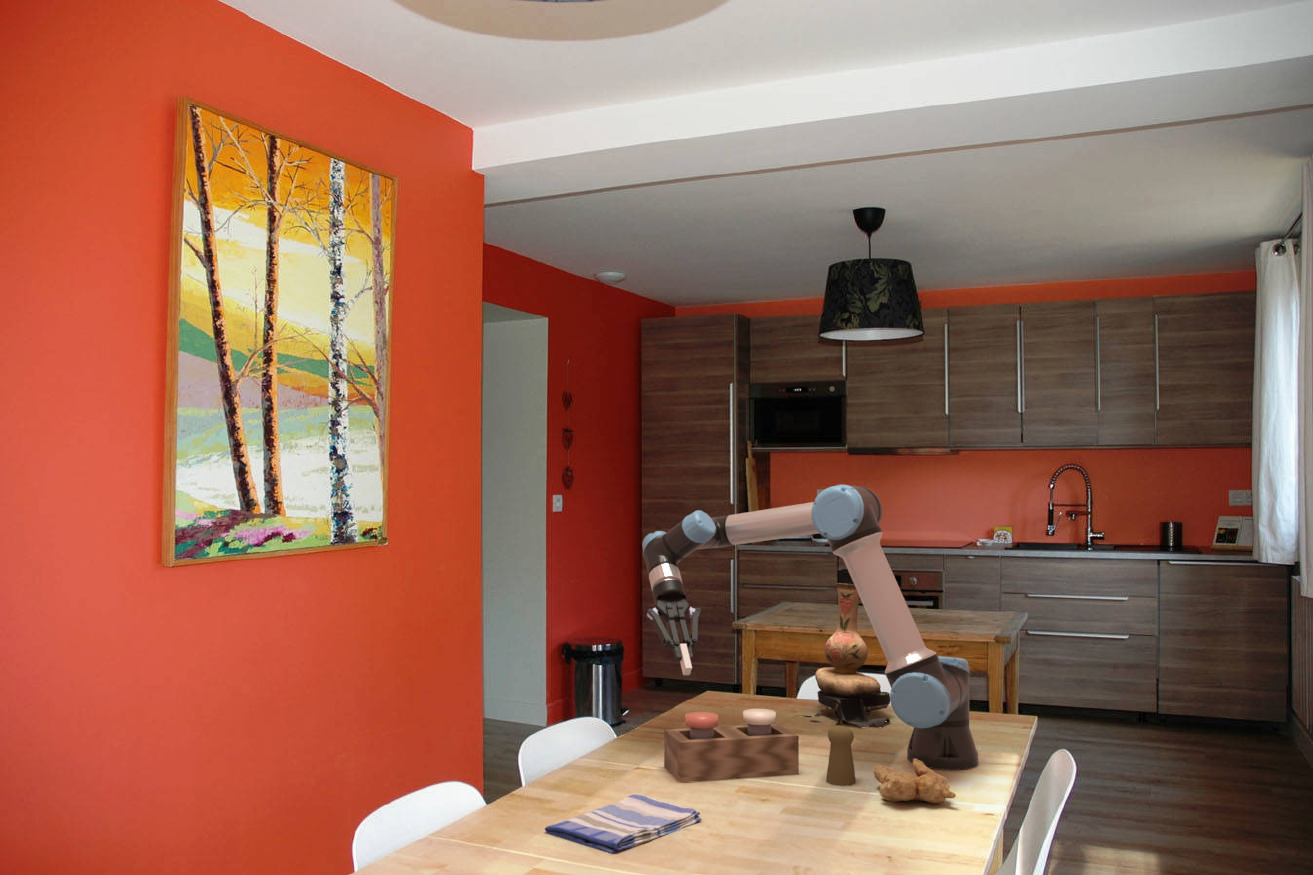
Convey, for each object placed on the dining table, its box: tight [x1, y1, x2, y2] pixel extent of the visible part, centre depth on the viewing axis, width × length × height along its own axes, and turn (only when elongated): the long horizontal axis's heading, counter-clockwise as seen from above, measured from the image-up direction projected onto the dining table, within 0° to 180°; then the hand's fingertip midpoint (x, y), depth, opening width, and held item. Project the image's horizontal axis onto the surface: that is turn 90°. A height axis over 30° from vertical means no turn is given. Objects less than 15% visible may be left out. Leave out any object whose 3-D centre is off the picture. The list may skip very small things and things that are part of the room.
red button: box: [684, 711, 719, 740], centre depth 216 cm, size 7×7×7 cm
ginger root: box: [873, 759, 956, 805], centre depth 198 cm, size 16×16×8 cm
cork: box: [825, 725, 857, 787], centre depth 210 cm, size 6×6×11 cm
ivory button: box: [742, 708, 777, 736], centre depth 219 cm, size 7×7×7 cm
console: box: [663, 722, 800, 783], centre depth 217 cm, size 26×12×8 cm, turn 105°
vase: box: [801, 582, 891, 729], centre depth 272 cm, size 24×22×35 cm
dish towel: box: [544, 793, 703, 855], centre depth 181 cm, size 17×24×3 cm
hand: (687, 671), depth 225 cm, fingers closed
